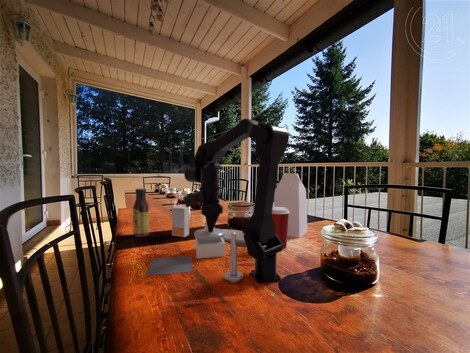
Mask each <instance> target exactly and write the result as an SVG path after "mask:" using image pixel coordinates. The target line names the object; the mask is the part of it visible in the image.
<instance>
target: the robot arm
mask: <svg viewBox="0 0 470 353" xmlns="http://www.w3.org/2000/svg"><path fill="white" fill-rule="evenodd" d="M248 138H249V139H252V140H254V141H255V150H256V152H257V157H258V158H259V162H258V171H257V172H258V173H257V179H256V187H255V196H254V203H253V212H252V214H251V216H248V217H245V218H244V220H243V230H242V231H243V232H242V233H244V240H245V243H246V246H245V247H246V250H247V254H248V256H250V257H252V258H253V260H254V269H251V270H250V274H251V275H252V277H253V278H254V280H255V282H256V283H267V282H269V283H270V282H278V281H279V282H280V281H281V280H282V277H281V276H280V275H279V274H278V272H277V262H278V261H277V257H278V256H277V254H278V253H281V252H283V250H284V249H283V247H284V244H283V243H282V242H281V240H280V239H279V237H278V236H277V235H276V233H275V222H274V220H273V217H272V209H273V207H274V194H275V190H276V187H277V186H276V185H277V178H278V170H279V163H280V160H282V157H283V155H284V154H285V152H286V150H287V147H288V143H289V140H290V134H289V132H288V131H287V128H285V127H283V126H279V125H274V124H269V123H268V124H267V123H265V124H264V123H261V122H258V121H257V120H255V119H250V118H244V119H243V118H242V119H241V120H240V121H239V122H238V123H237V124H236V125H234V126H233V127H232V128H231V129H229V130H227V131H226V132H225V133H223V134H222V135H221V136H219V137H218V138H216V139H214V140H211V141H206V142H205V143H202V144H200V145H199V146H198V147H197V149H196V152H195V155H194V156H193V159H192V160H191V162H189V164H188V167H186V169H185V171H184V174H183V175H184V178H185V180H186V181H187V182H189V183H199V184H200V186H199V190H198V191H195V192H189V193H187V194H186V195H184V196H183V197H182V200H183V203H184V205H185V207H189V208H190V207H191V206H194V205H196V204H198V207H199V210H200V213H201V215H203V216H204V218H205V223H206V222H207V226H208V231H209V232H212V231H213V229H214V226H215V227H216V223H217V221H218V219H219V217H220V215H221V214H222V215H223V213H224V207H223V205H221V204H220V199H219V190H220V186H219V170H223V166H222V165H220V163H219V162H220V161H221V160H222V159H223V158H224V157H225V155H226V153H227V152H228V151H230V150H231V149H233V148H234V147H235V146H237V145H239V144H240V143H242V142H243V141H245V140H247V139H248Z"/></svg>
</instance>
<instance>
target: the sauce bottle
mask: <svg viewBox="0 0 470 353" xmlns="http://www.w3.org/2000/svg"><path fill="white" fill-rule="evenodd" d="M146 193H147V188H145V187H143V188H142V187H140V188H139V187H138V188H135V195H136V196H135V202H134V204H133V207H132V224H133V225H132V227H133V228H132V229H133V231H132V232H133V236H135V237H136V238H143V237H147V236H148V235H149V234H150V211H149V210H150V208H149V206H150V205H149V202H148V201H147V199H146V198H147V197H146V195H147V194H146Z"/></svg>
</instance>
